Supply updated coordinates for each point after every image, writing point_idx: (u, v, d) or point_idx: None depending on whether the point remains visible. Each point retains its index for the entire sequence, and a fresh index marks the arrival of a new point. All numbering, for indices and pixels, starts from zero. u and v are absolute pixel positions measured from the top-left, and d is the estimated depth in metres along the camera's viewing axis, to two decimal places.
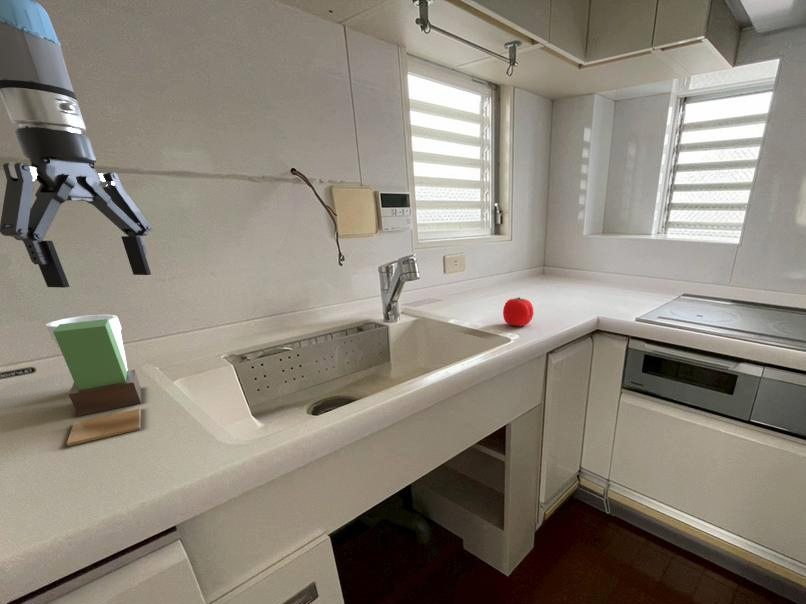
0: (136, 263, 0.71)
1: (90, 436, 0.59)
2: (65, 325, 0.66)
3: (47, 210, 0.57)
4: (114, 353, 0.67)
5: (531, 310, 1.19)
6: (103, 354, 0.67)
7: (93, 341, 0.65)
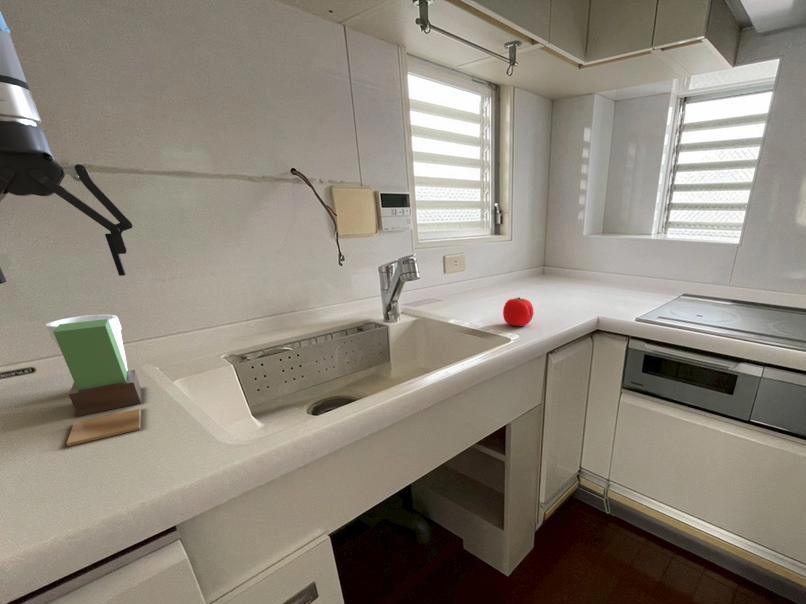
0: None
1: (90, 436, 0.59)
2: (65, 325, 0.66)
3: None
4: (114, 353, 0.67)
5: (531, 310, 1.19)
6: (103, 354, 0.67)
7: (93, 341, 0.65)
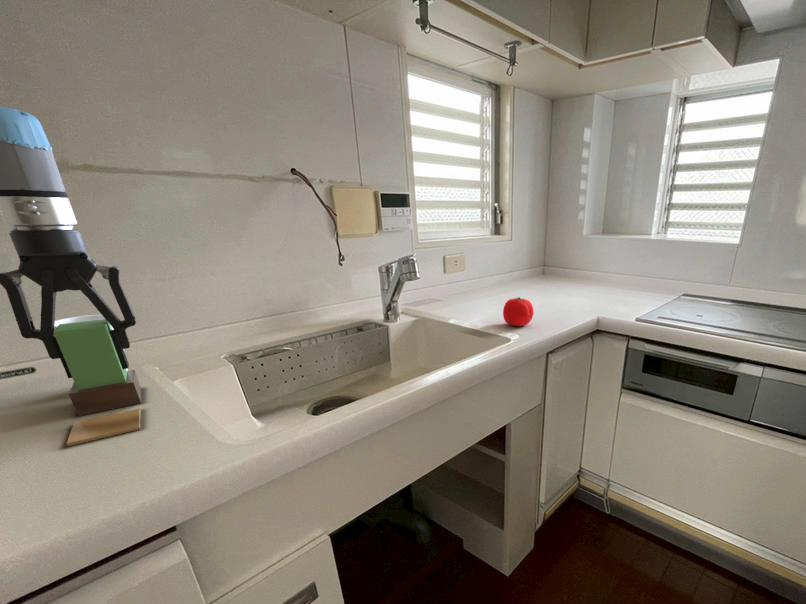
0: None
1: (90, 436, 0.59)
2: (65, 325, 0.66)
3: (43, 311, 0.62)
4: (114, 353, 0.67)
5: (531, 310, 1.19)
6: (103, 354, 0.67)
7: (93, 341, 0.65)
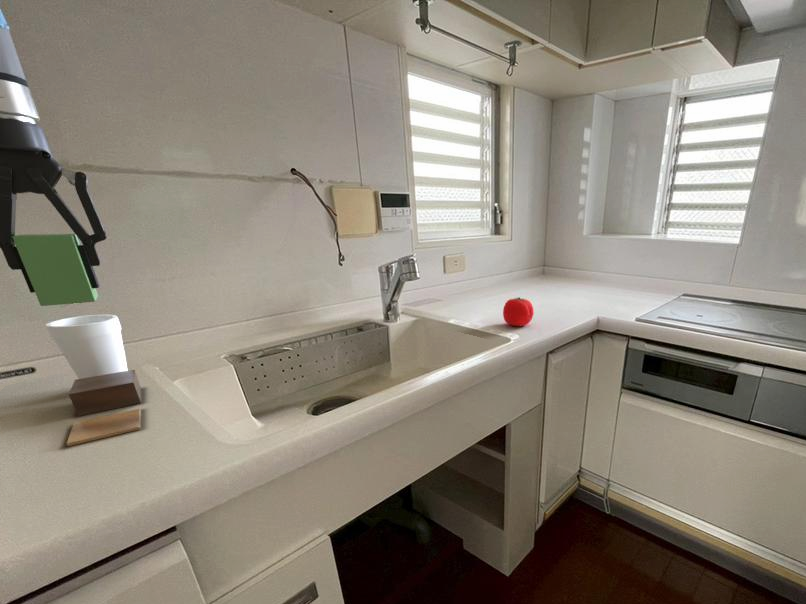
0: None
1: (90, 436, 0.59)
2: None
3: (0, 213, 0.57)
4: (81, 268, 0.62)
5: (531, 310, 1.19)
6: (69, 267, 0.61)
7: (58, 252, 0.60)
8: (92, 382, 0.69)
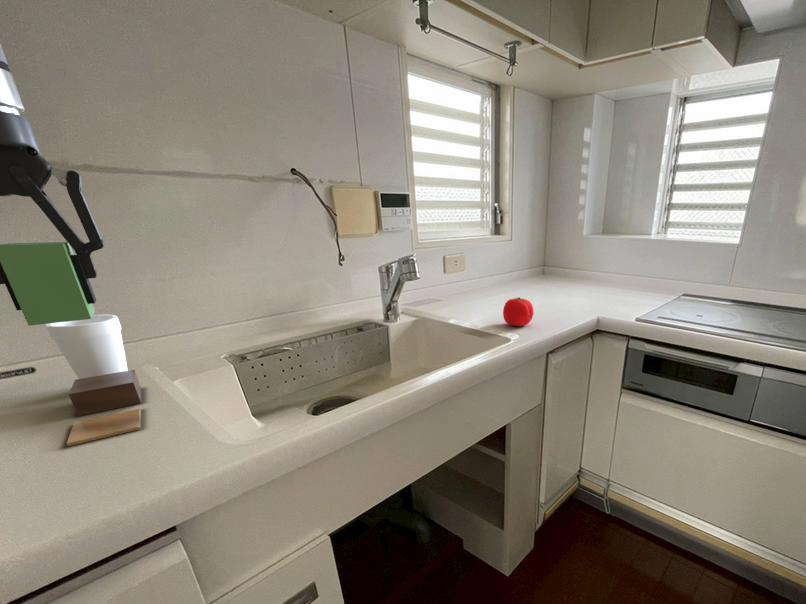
0: None
1: (90, 436, 0.59)
2: None
3: None
4: (75, 281, 0.54)
5: (531, 310, 1.19)
6: (61, 280, 0.53)
7: (47, 263, 0.52)
8: (92, 382, 0.69)
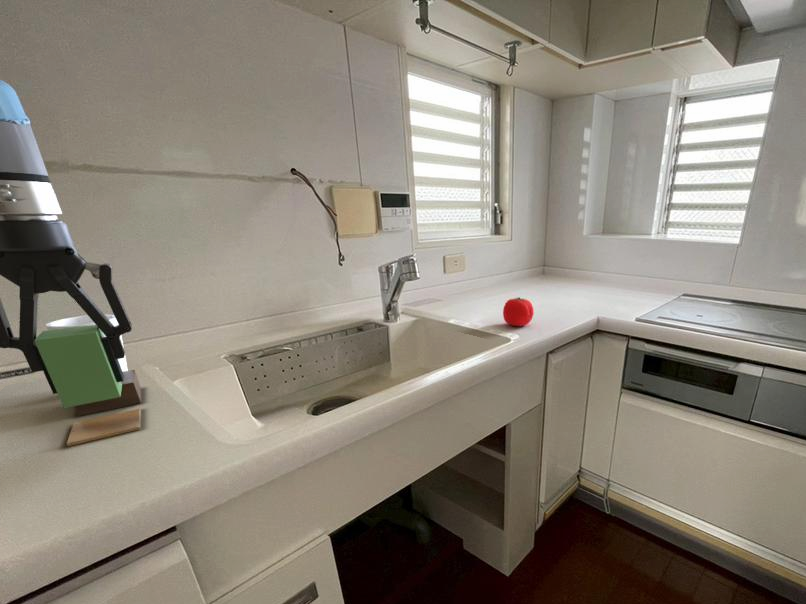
0: None
1: (90, 436, 0.59)
2: (49, 332, 0.57)
3: (22, 316, 0.53)
4: (106, 364, 0.58)
5: (531, 310, 1.19)
6: (94, 365, 0.57)
7: (82, 351, 0.56)
8: None
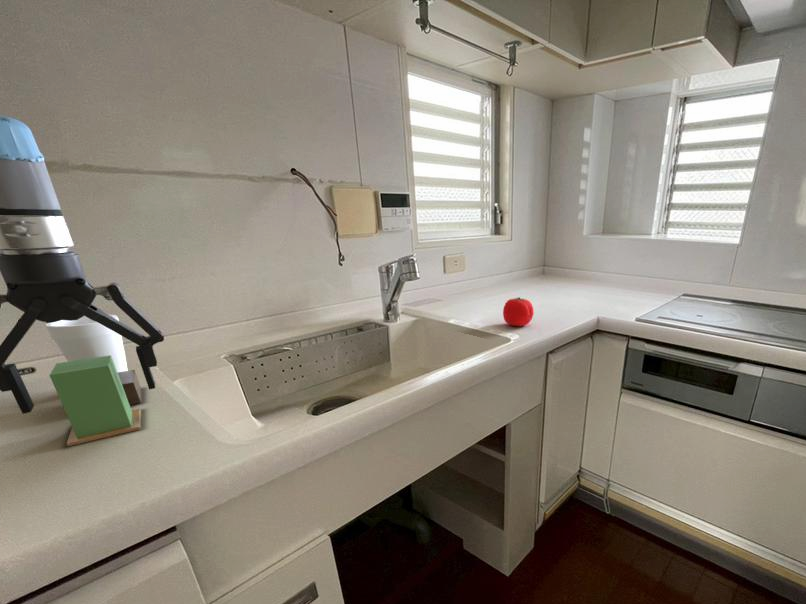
0: None
1: (90, 436, 0.59)
2: (63, 365, 0.58)
3: (8, 338, 0.53)
4: (118, 395, 0.60)
5: (531, 310, 1.19)
6: (106, 396, 0.59)
7: (95, 383, 0.58)
8: None
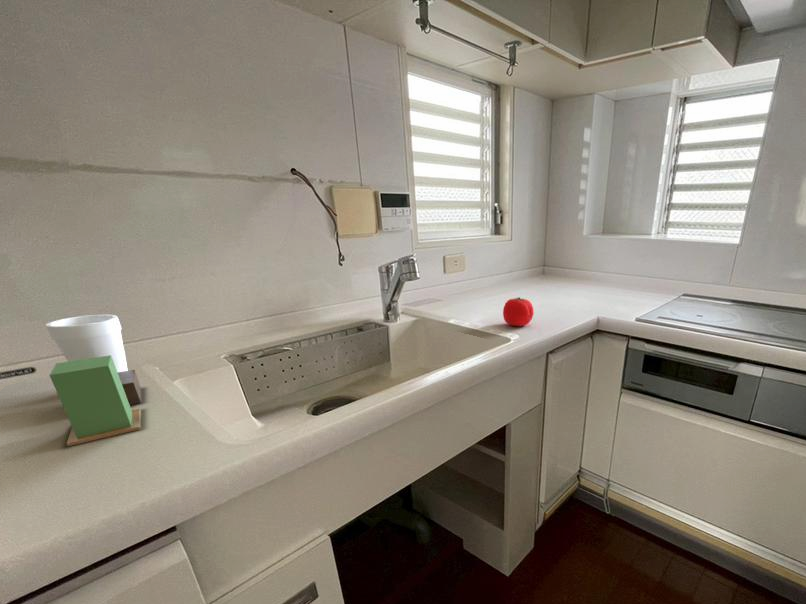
0: None
1: (90, 436, 0.59)
2: (63, 365, 0.58)
3: None
4: (118, 395, 0.60)
5: (531, 310, 1.19)
6: (106, 396, 0.59)
7: (95, 383, 0.58)
8: None
